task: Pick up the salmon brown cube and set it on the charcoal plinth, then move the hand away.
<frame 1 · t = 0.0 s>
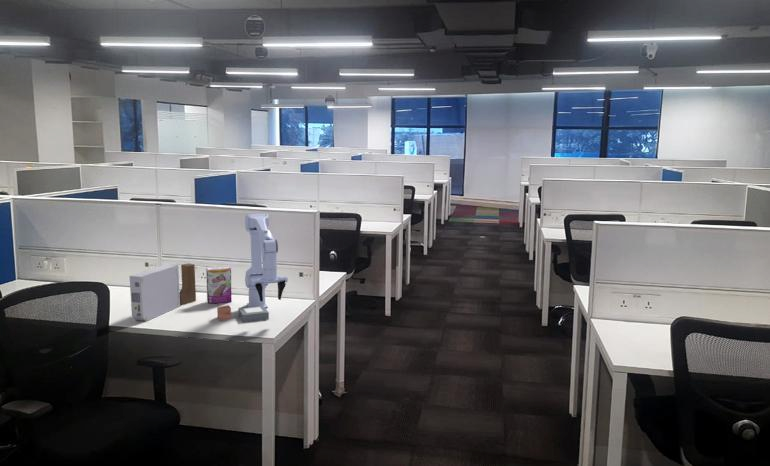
hand: (270, 300, 254), 10 cm above the table, tool pointing down, fingers open, 7 cm apart
salmon brown cube: (224, 318, 263), on the table
game console: (158, 314, 269), on the table
candy bar box: (219, 302, 289), on the table
charcoal plinth: (253, 317, 265), on the table
wooden block: (185, 302, 287), on the table
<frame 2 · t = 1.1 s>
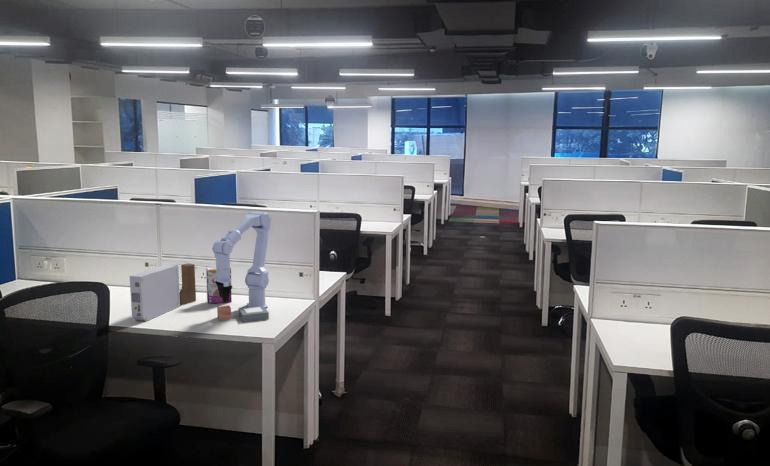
hand: (224, 299, 261), 8 cm above the table, tool pointing down, fingers open, 7 cm apart
nothing on the table moved.
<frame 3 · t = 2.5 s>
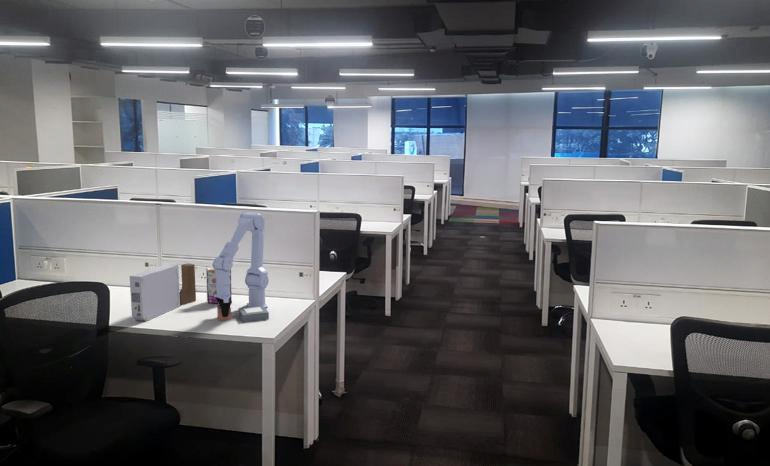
hand: (224, 315, 262), 1 cm above the table, tool pointing down, fingers closed on salmon brown cube, 5 cm apart
salmon brown cube: (224, 318, 263), on the table, touching gripper
everything else where it was.
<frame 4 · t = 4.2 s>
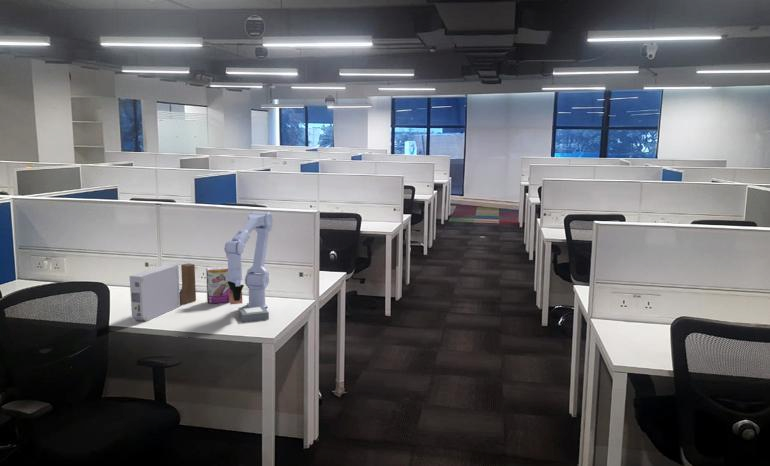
hand: (235, 299, 262), 8 cm above the table, tool pointing down, fingers closed on salmon brown cube, 5 cm apart
salmon brown cube: (235, 302, 262), point 7 cm above the table, touching gripper
everything else where it was.
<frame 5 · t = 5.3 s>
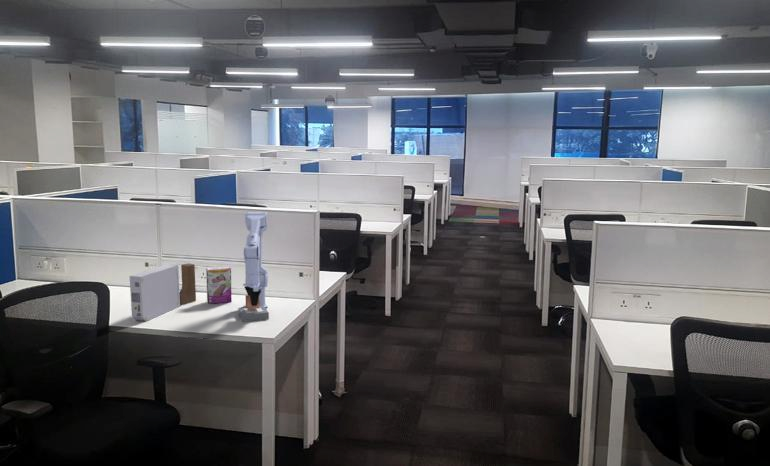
hand: (253, 303, 264), 6 cm above the table, tool pointing down, fingers closed on salmon brown cube, 5 cm apart
salmon brown cube: (252, 307, 264), point 4 cm above the table, touching gripper
everything else where it was.
when the fingers open (6 cm above the table, at t = 6.0 s): salmon brown cube drops 1 cm, resting on charcoal plinth.
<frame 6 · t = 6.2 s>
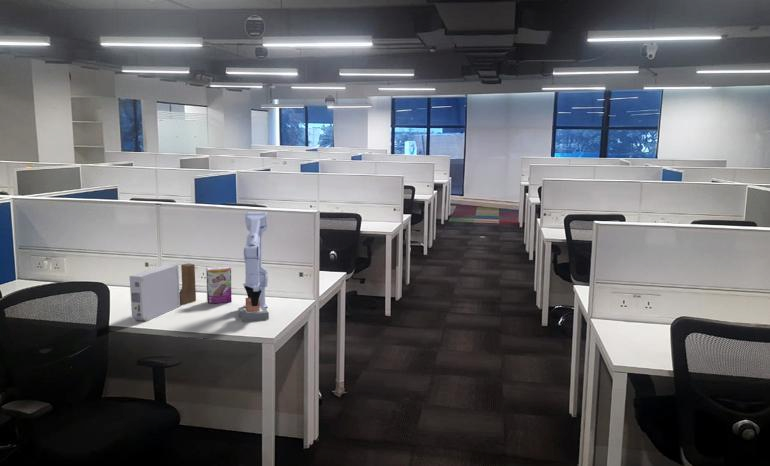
hand: (253, 303, 264), 6 cm above the table, tool pointing down, fingers open, 7 cm apart
salmon brown cube: (252, 309, 264), point 3 cm above the table, touching charcoal plinth
everything else where it was.
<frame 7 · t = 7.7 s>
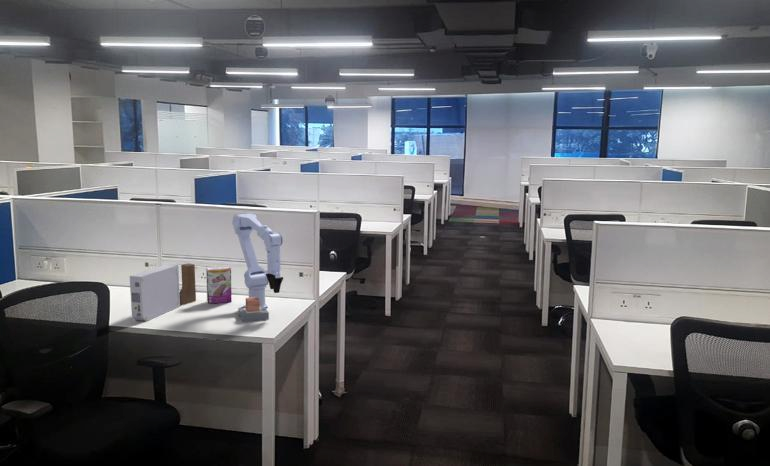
hand: (274, 290, 268), 10 cm above the table, tool pointing down, fingers open, 7 cm apart
nothing on the table moved.
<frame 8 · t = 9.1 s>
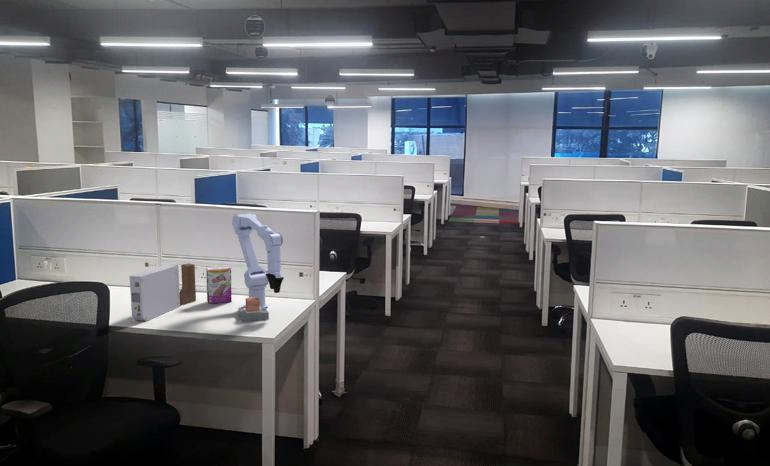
hand: (274, 290, 269), 10 cm above the table, tool pointing down, fingers open, 7 cm apart
nothing on the table moved.
at the end: salmon brown cube 0.3 cm off-centre on the charcoal plinth, point 3.2 cm above the charcoal plinth's base; salmon brown cube tilted 0°; the gripper is holding nothing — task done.
